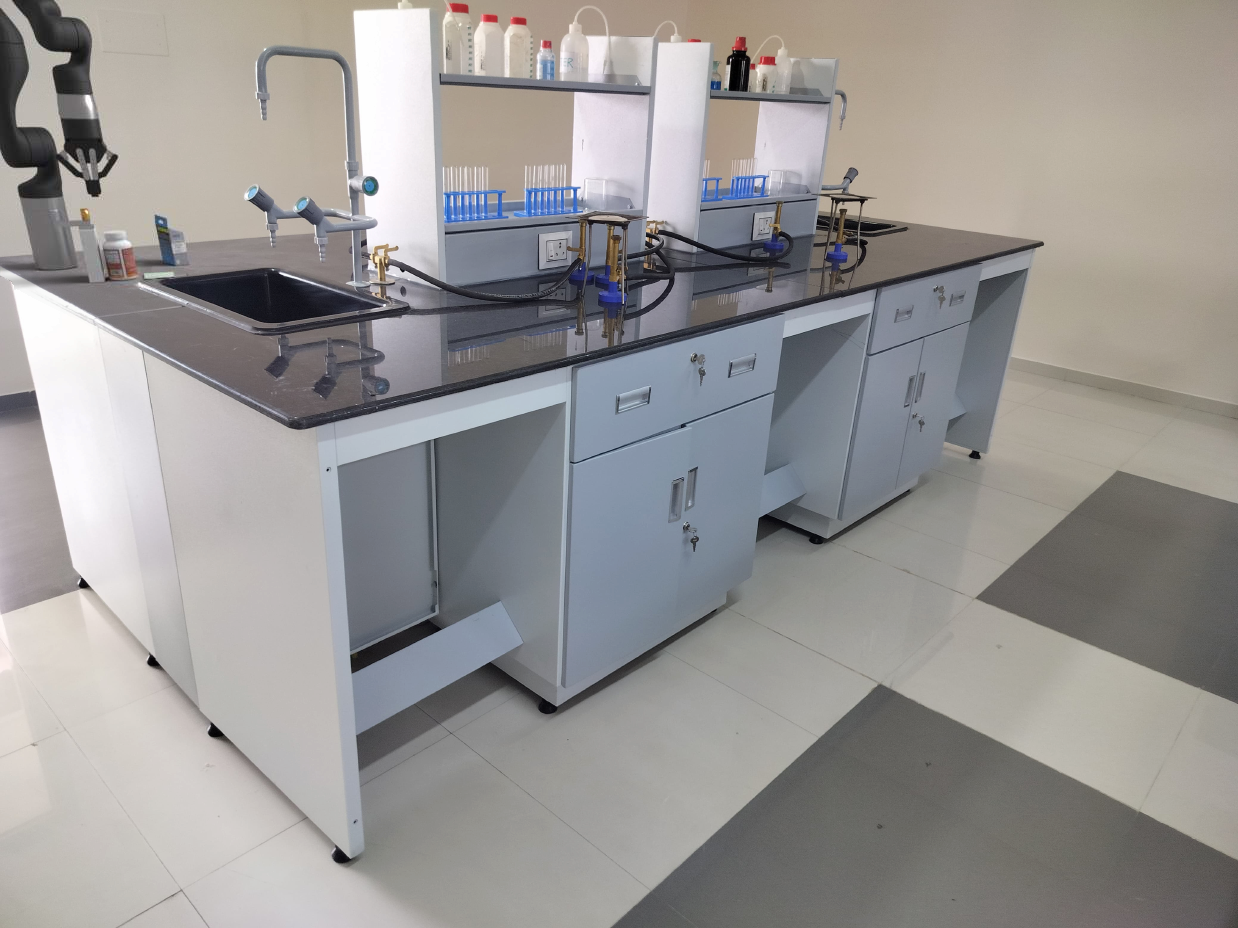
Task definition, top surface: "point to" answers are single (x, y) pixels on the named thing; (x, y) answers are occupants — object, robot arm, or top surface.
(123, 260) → the pill bottle
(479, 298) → the top surface
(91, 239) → the socket panel
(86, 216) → the clip
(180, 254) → the label tape box
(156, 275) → the mat
